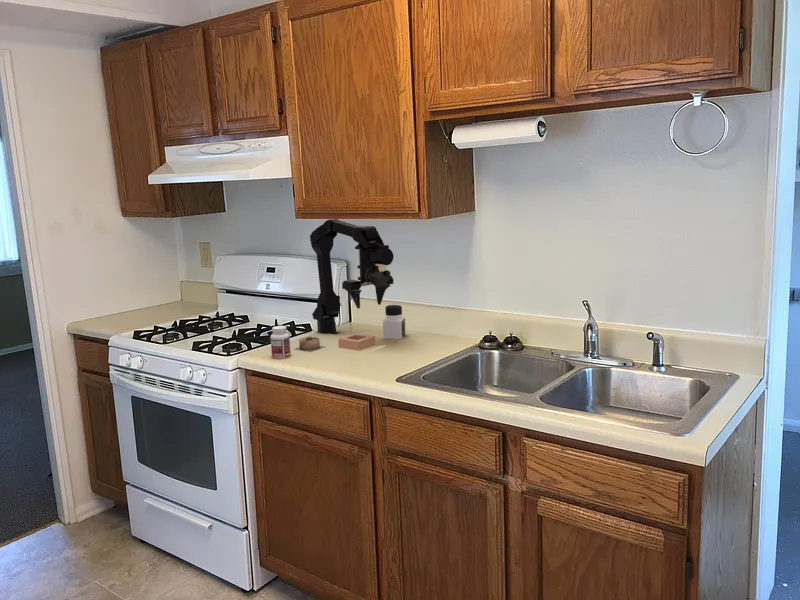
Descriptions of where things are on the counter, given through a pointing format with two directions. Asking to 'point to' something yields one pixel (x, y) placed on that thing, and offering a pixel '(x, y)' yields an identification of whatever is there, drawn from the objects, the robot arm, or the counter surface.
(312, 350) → the coaster mat
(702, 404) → the counter surface
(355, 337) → the salmon pink square box
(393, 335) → the medicine bottle
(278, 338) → the pill bottle
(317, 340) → the walnut lid
